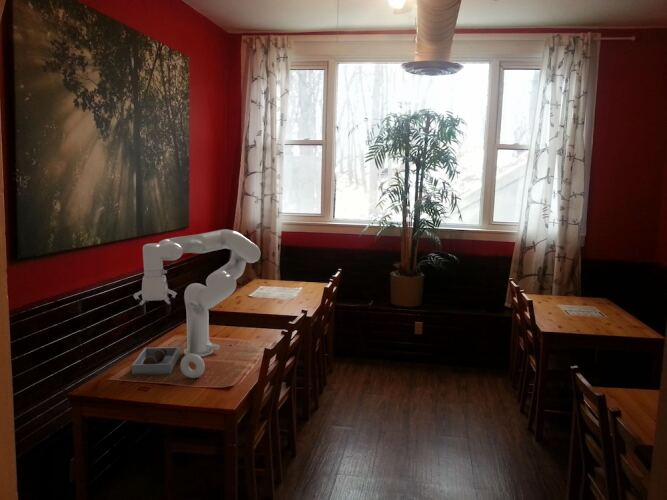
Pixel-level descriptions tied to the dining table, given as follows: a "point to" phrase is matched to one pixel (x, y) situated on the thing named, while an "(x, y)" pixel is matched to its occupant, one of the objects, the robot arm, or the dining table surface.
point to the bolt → (155, 357)
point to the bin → (161, 366)
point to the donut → (187, 370)
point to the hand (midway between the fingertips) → (156, 312)
